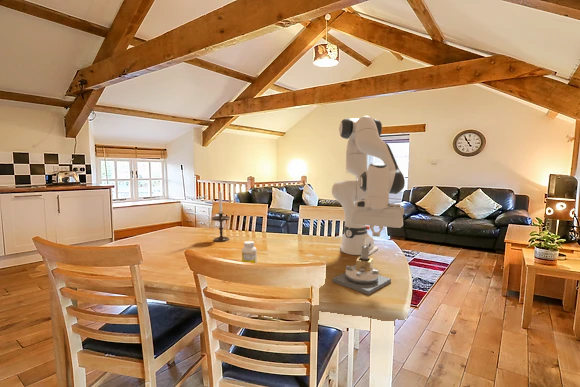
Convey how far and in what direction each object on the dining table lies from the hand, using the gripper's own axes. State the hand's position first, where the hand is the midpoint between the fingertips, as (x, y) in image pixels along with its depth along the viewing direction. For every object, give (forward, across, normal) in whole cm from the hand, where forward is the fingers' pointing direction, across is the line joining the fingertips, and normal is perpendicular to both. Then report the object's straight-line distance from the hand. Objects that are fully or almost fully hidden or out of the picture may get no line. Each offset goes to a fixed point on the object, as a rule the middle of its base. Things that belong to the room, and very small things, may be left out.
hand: (376, 236), depth 124 cm
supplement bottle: (+19, +54, +12) cm, 59 cm away
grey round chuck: (+17, +5, +4) cm, 18 cm away
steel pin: (+14, +4, 0) cm, 15 cm away
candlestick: (+19, +99, -23) cm, 103 cm away
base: (+19, +5, +4) cm, 20 cm away
